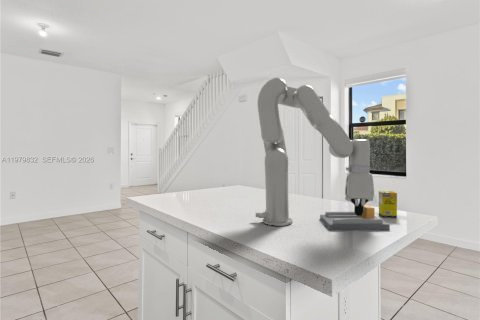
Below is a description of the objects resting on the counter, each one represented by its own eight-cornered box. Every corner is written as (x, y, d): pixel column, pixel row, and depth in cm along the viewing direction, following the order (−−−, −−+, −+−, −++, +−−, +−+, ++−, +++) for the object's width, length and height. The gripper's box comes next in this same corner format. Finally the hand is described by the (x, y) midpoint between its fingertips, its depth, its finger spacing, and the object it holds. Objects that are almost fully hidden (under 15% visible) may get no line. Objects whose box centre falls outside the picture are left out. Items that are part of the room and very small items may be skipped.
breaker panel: (329, 229, 104) (329, 223, 104) (320, 219, 120) (320, 213, 120) (389, 229, 102) (389, 222, 102) (371, 218, 118) (371, 212, 118)
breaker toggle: (366, 220, 108) (366, 208, 108) (362, 217, 113) (362, 205, 113) (374, 220, 108) (374, 208, 108) (369, 217, 113) (369, 205, 113)
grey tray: (334, 223, 105) (334, 219, 105) (325, 215, 118) (325, 211, 118) (382, 223, 104) (382, 219, 104) (368, 215, 117) (368, 211, 117)
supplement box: (397, 217, 119) (397, 193, 119) (382, 217, 120) (382, 192, 120) (392, 214, 125) (392, 190, 125) (378, 214, 126) (378, 190, 126)
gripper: (343, 170, 107) (342, 217, 107) (382, 170, 106) (381, 217, 107) (337, 169, 114) (337, 212, 115) (374, 169, 113) (373, 213, 114)
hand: (358, 215), depth 111 cm, fingers closed
